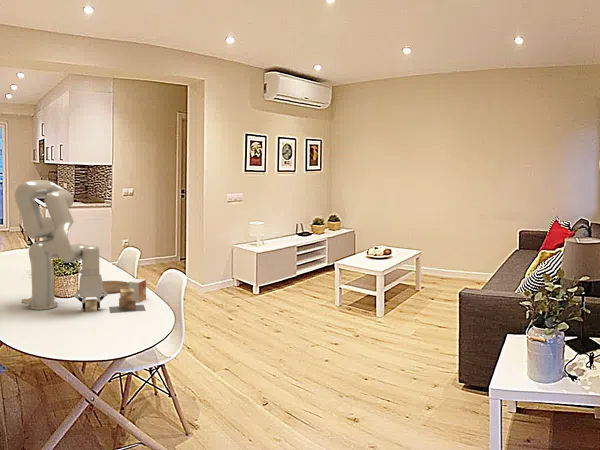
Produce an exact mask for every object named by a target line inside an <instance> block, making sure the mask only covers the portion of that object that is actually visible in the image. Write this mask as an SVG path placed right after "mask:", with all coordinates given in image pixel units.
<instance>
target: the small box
mask: <svg viewBox="0 0 600 450" xmlns="http://www.w3.org/2000/svg"><path fill="white" fill-rule="evenodd" d="M128 283H129V289H134V298H135V301H136V303H140V302H143V301H144V300H146V299H147V279H144V278H135V279H133V280H131V281H128Z"/></svg>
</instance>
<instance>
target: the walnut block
mask: <svg viewBox="0 0 600 450" xmlns="http://www.w3.org/2000/svg"><path fill="white" fill-rule="evenodd" d="M136 305H137V302H136V301H135V298H134V301H122V302H121V299H120V297H119V298H118V306H119V309H120V311H131V310H136Z"/></svg>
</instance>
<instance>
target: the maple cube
mask: <svg viewBox="0 0 600 450" xmlns="http://www.w3.org/2000/svg"><path fill="white" fill-rule="evenodd" d="M84 312H85V313H90V312H98V311H97V298H90V299H85V311H84Z"/></svg>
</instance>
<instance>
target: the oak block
mask: <svg viewBox="0 0 600 450" xmlns="http://www.w3.org/2000/svg"><path fill="white" fill-rule="evenodd" d="M119 296H120V297H119V298H120V299H121V302H122V301H134V289H120V293H119Z"/></svg>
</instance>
